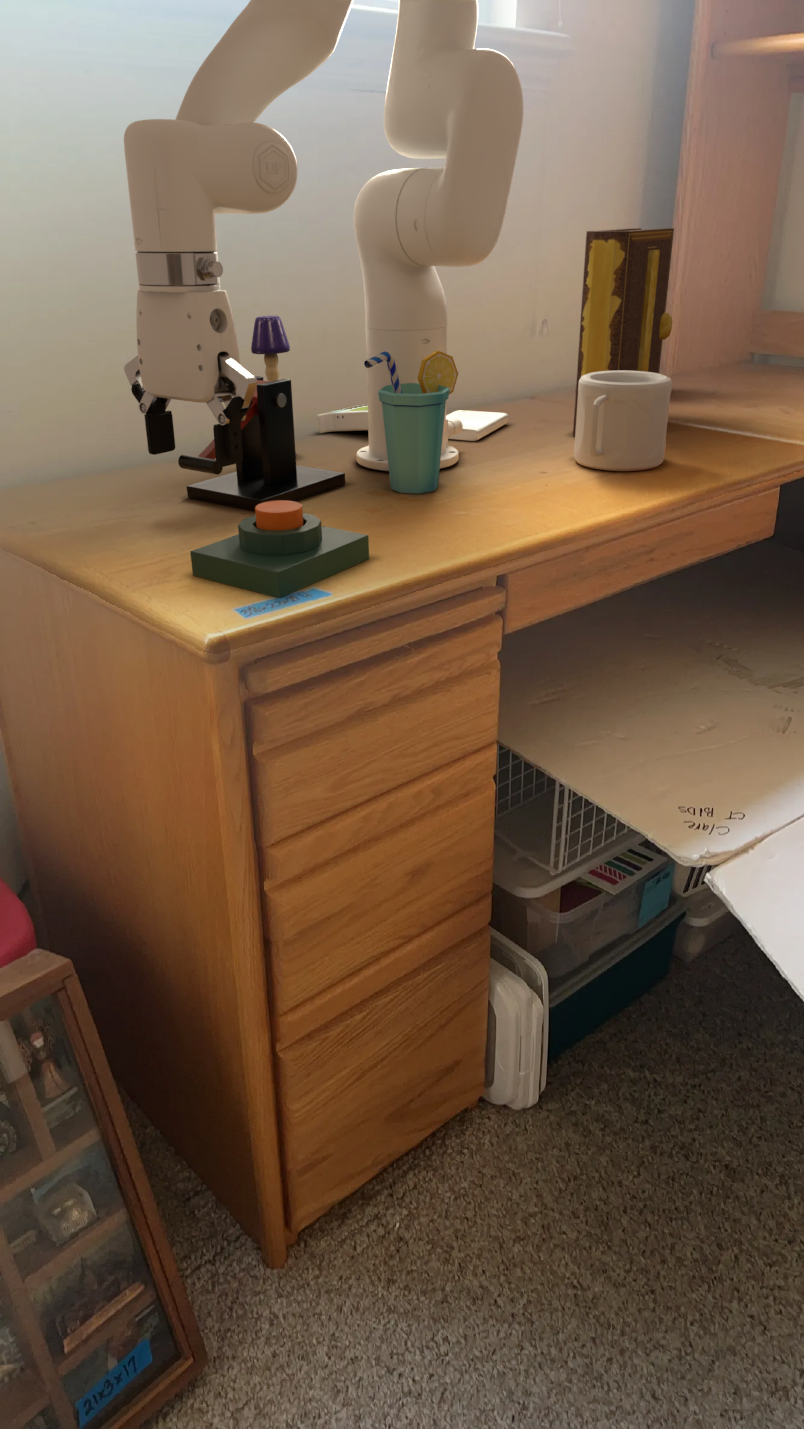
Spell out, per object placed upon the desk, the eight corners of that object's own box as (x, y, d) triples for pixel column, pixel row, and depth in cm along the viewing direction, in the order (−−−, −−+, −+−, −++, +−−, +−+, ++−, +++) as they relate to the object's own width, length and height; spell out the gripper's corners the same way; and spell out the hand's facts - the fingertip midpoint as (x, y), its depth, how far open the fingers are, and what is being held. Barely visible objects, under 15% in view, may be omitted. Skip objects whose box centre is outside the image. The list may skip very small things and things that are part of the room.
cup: (399, 508, 102) (397, 356, 96) (342, 497, 107) (336, 351, 100) (473, 481, 112) (476, 341, 105) (418, 472, 116) (418, 337, 110)
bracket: (262, 512, 102) (252, 394, 96) (187, 497, 107) (174, 385, 102) (345, 484, 112) (341, 375, 106) (273, 471, 118) (266, 368, 112)
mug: (596, 448, 126) (602, 367, 122) (676, 458, 121) (686, 373, 116) (547, 470, 117) (552, 382, 112) (633, 481, 111) (641, 389, 107)
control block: (285, 540, 93) (282, 498, 91) (369, 558, 88) (368, 514, 86) (192, 575, 84) (187, 530, 83) (280, 598, 79) (276, 550, 77)
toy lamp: (253, 460, 123) (241, 317, 116) (271, 452, 127) (260, 313, 119) (286, 463, 122) (277, 318, 114) (304, 455, 125) (295, 314, 118)
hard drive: (455, 409, 144) (421, 424, 134) (508, 412, 141) (478, 428, 131) (455, 421, 145) (421, 436, 135) (508, 424, 142) (477, 441, 132)
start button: (278, 517, 87) (276, 497, 86) (312, 524, 85) (311, 504, 84) (246, 528, 84) (245, 508, 83) (282, 535, 82) (280, 515, 81)
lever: (218, 481, 100) (208, 462, 98) (184, 474, 102) (173, 456, 101) (290, 401, 105) (281, 382, 104) (255, 397, 108) (247, 378, 106)
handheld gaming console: (400, 409, 128) (315, 412, 137) (403, 431, 129) (318, 433, 138) (449, 397, 136) (365, 401, 145) (451, 418, 137) (368, 421, 146)
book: (621, 441, 130) (639, 231, 119) (560, 435, 134) (572, 231, 123) (667, 413, 147) (687, 227, 136) (612, 409, 151) (627, 227, 140)
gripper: (274, 274, 90) (284, 462, 98) (146, 270, 99) (164, 442, 107) (216, 277, 85) (231, 476, 93) (86, 272, 94) (109, 454, 102)
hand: (195, 457), depth 100 cm, fingers open, 9 cm apart
